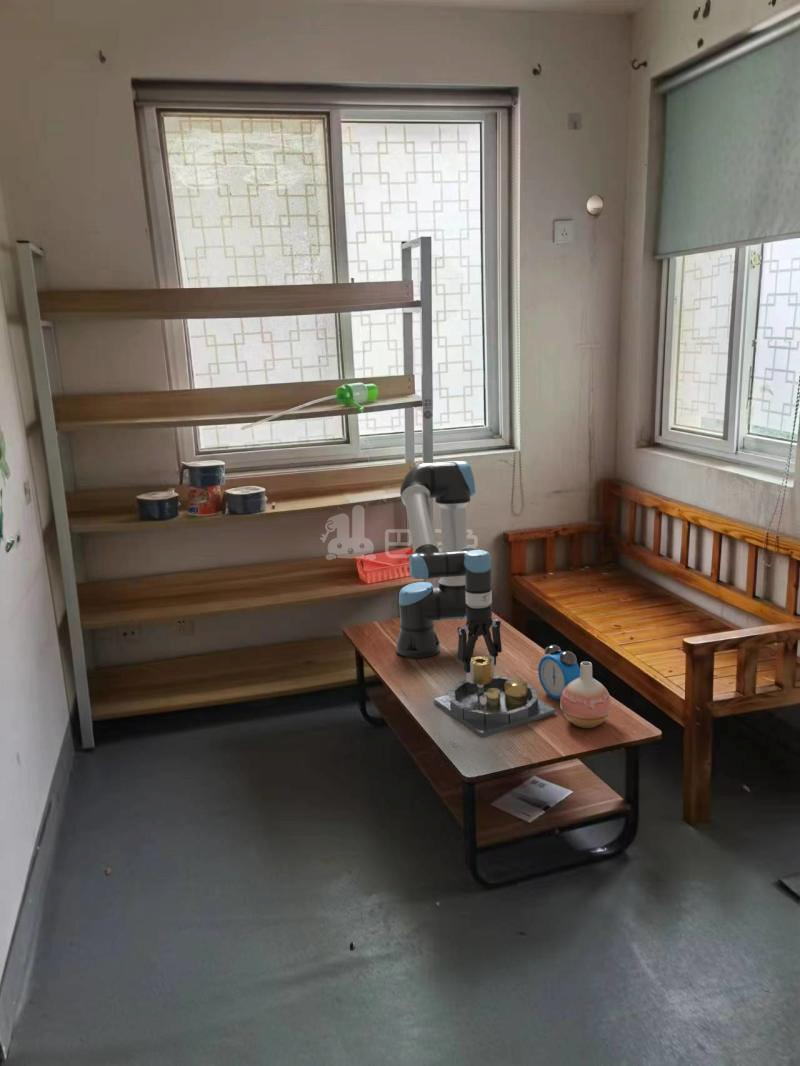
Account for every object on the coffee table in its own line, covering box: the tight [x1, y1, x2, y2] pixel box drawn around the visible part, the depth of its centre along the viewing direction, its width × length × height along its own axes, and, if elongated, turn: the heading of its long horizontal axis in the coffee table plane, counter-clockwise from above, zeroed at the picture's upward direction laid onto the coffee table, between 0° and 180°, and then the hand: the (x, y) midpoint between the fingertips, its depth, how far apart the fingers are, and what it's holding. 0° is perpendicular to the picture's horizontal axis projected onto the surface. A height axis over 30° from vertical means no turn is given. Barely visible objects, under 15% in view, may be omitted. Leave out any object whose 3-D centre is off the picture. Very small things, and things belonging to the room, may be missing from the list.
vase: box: [559, 660, 613, 729], centre depth 218 cm, size 14×14×18 cm
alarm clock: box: [537, 644, 580, 700], centre depth 235 cm, size 13×6×15 cm, turn 30°
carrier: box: [433, 675, 557, 738], centre depth 230 cm, size 25×25×8 cm
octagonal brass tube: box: [471, 656, 493, 685], centre depth 234 cm, size 6×6×6 cm
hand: (480, 678), depth 234 cm, fingers closed on octagonal brass tube, 6 cm apart
